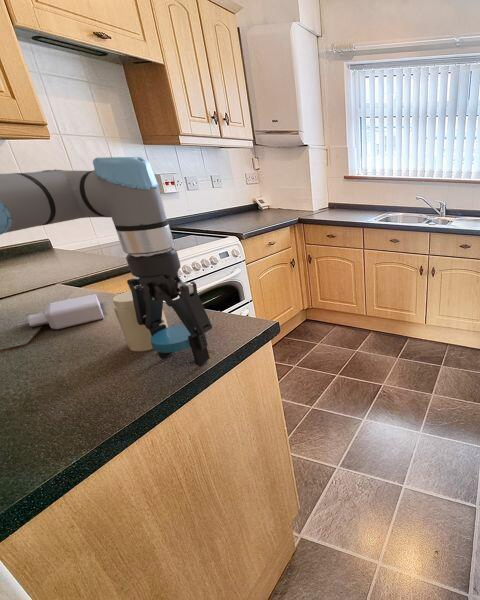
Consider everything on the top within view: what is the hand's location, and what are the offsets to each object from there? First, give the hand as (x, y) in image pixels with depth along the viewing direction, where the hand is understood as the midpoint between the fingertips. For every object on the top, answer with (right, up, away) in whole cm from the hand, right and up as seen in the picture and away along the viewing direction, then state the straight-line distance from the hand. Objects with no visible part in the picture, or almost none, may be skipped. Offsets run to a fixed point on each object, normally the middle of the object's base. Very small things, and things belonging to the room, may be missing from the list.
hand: (184, 358), depth 69 cm
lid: (0, +5, -2) cm, 5 cm away
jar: (-12, +3, +7) cm, 14 cm away
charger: (-40, +6, +15) cm, 43 cm away
